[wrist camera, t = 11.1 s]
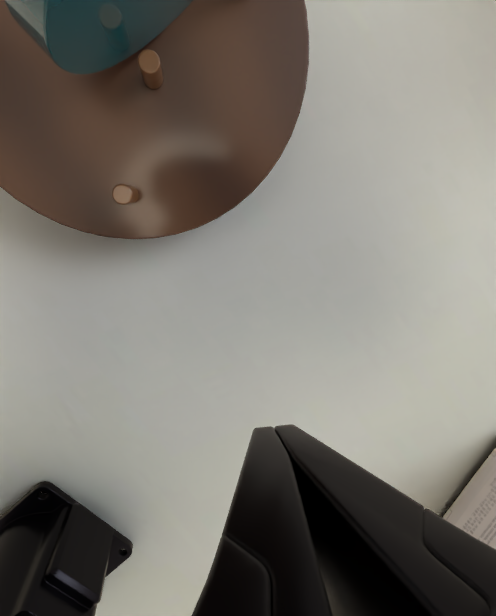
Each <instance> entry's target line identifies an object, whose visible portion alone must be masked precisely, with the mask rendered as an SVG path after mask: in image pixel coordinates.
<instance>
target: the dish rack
mask: <svg viewBox="0 0 496 616" xmlns="http://www.w3.org/2000/svg"><path fill="white" fill-rule="evenodd" d="M308 65H309V31H308V21H307V11H306V6H305V1H304V0H0V187H1V188H3V189H4V190H5V191H6V192H8V193H9V194H10V195H11V196H13V197H14V198H15V199H17V200H18V201H20V202H21V203H23V204H25V205H26V206H28V207H29V208H31V209H32V210H34V211H36V212H37V213H39V214H41V215H43V216H45V217H47V218H49V219H51V220H54V221H56V222H58V223H60V224H62V225H65V226H68V227H71V228H74V229H77V230H80V231H83V232H86V233H91V234H95V235H100V236H105V237H112V238H123V239H147V238H158V237H164V236H170V235H175V234H179V233H182V232H185V231H188V230H192V229H195V228H198V227H200V226H202V225H204V224H206V223H208V222H210V221H213V220H215V219H217V218H218V217H220V216H222V215H223V214H225V213H226V212H228V211H229V210H231V209H232V208H234V207H235V206H237V205H238V204H239V203H240V202H241V201H242V200H244V199H245V198H246V197H247V196H248V195H250V194H251V193H252V192H253V191H254V190H255V189H256V187H257V186H258V185H259V184H260V183H261V182H262V181H263V180H264V179H265V177H266V176H267V175H268V174H269V172H270V171H271V169H272V168H273V166H274V165H275V164H276V162H277V161H278V159H279V158H280V156H281V154H282V152H283V150H284V149H285V147H286V145H287V143H288V141H289V139H290V137H291V135H292V132H293V129H294V127H295V124H296V121H297V119H298V116H299V113H300V109H301V105H302V101H303V97H304V93H305V89H306V81H307V73H308Z"/></svg>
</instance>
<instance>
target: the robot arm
mask: <svg viewBox="0 0 496 616" xmlns="http://www.w3.org/2000/svg"><path fill="white" fill-rule="evenodd" d="M41 491H45V492H47V493H48V494H43V493H41ZM121 548H124V549H125V550H121ZM132 548H133V544H132V542H131V541H130V540H129V539H127V538H126V537H125V536H123V535H122V534H121V533H119V532H118V531H116V530H115V529H114V528H113V527H111V526H110V525H108V524H107V523H106V522H104V521H103V520H102V519H100V518H99V517H97V516H96V515H95V514H93V513H92V512H91V511H89V510H88V509H87V508H85V507H84V506H82V505H81V504H79V503H78V502H77V501H75V500H74V499H73V498H71V497H70V496H69V495H67V494H66V493H64V492H63V491H62V490H60V489H59V488H58V487H56V486H55V485H53V484H52V483H50V482H41V483H39V484H37V485H36V486H35V487H34V488H33V489H32V490H31V491H29V492H28V493H27V494H26V495H25V496H24V497H23V498H21V499H20V500H19V501H18V502H17V503H16V504H15V505H13V506H12V507H11V508H10V509H9V510H8V511H7V512H6V513H4V514H3V515H2V516H1V517H0V616H95V612H96V607H97V604H98V603H99V602H100V600H101V595H102V590H103V585H104V580H105V577H106V576H107V575H108V574H110V573H111V572H112V571H113V570H114V569H116V568H117V567H118V566H119V565H120V564H121V563H123V562H124V561H125V560H126V559H127V558H129V557H130V555H131V554H132ZM192 616H496V549H494V548H492V547H491V546H489V545H487V544H485V543H483V542H482V541H480V540H478V539H476V538H475V537H473V536H471V535H470V534H468V533H466V532H465V531H463V530H461V529H460V528H458V527H456V526H455V525H453V524H451V523H450V522H448V521H446V520H445V519H443V518H442V517H440V516H438V515H437V514H435V513H434V512H432V511H430V510H429V509H425V510H424V507H423V506H422V505H421V504H419V503H417V502H416V501H414V500H413V499H411V498H409V497H408V496H406V495H405V494H403V493H401V492H400V491H398V490H397V489H395V488H393V487H392V486H390V485H389V484H387V483H386V482H384V481H382V480H381V479H379V478H378V477H376V476H374V475H373V474H371V473H370V472H368V471H366V470H365V469H363V468H362V467H360V466H358V465H357V464H355V463H354V462H352V461H350V460H349V459H347V458H346V457H344V456H343V455H341V454H339V453H338V452H336V451H335V450H333V449H331V448H330V447H328V446H327V445H325V444H323V443H322V442H320V441H319V440H317V439H315V438H314V437H312V436H311V435H309V434H307V433H306V432H304V431H303V430H301V429H299V428H298V427H296V426H295V425H281V426H276V427H275V428H273V427H260V428H255V429H254V430H253V433H252V436H251V440H250V443H249V446H248V450H247V453H246V456H245V460H244V463H243V466H242V470H241V473H240V476H239V480H238V483H237V486H236V490H235V493H234V496H233V500H232V503H231V506H230V510H229V513H228V516H227V520H226V523H225V526H224V530H223V533H222V537H221V539H220V542H219V545H218V549H217V552H216V555H215V558H214V561H213V564H212V567H211V570H210V573H209V575H208V578H207V581H206V584H205V586H204V588H203V591H202V593H201V595H200V598H199V600H198V602H197V605H196V607H195V609H194V612H193V614H192Z"/></svg>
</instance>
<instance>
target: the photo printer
mask: <svg viewBox="0 0 496 616" xmlns="http://www.w3.org/2000/svg"><path fill="white" fill-rule="evenodd" d="M443 519H445V520H446V521H448V522H450V523H451V524H453V525H455V526H456V527H458V528H460V529H461V530H463V531H465V532H466V533H468V534H470V535H471V536H473V537H475V538H476V539H478V540H480V541H482V542H483V543H485V544H487V545H489V546H491V547H492V548H494V549H496V448H495V449H494V450H493V451H492V453H491V454H490V455H489V457H488V458H487V459H486V460H485V462H484V463H483V464H482V466H481V467H480V468H479V470H478V471H477V472H476V474H475V475H474V476H473V478H472V479H471V480H470V482H469V483H468V484H467V486H466V487H465V488H464V490H463V491H462V492H461V494H460V495H459V496H458V498H457V499H456V500H455V502H454V503H453V504H452V506H451V507H450V508H449V509H448V511H447V512H446V514H445V515H444V516H443Z"/></svg>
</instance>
